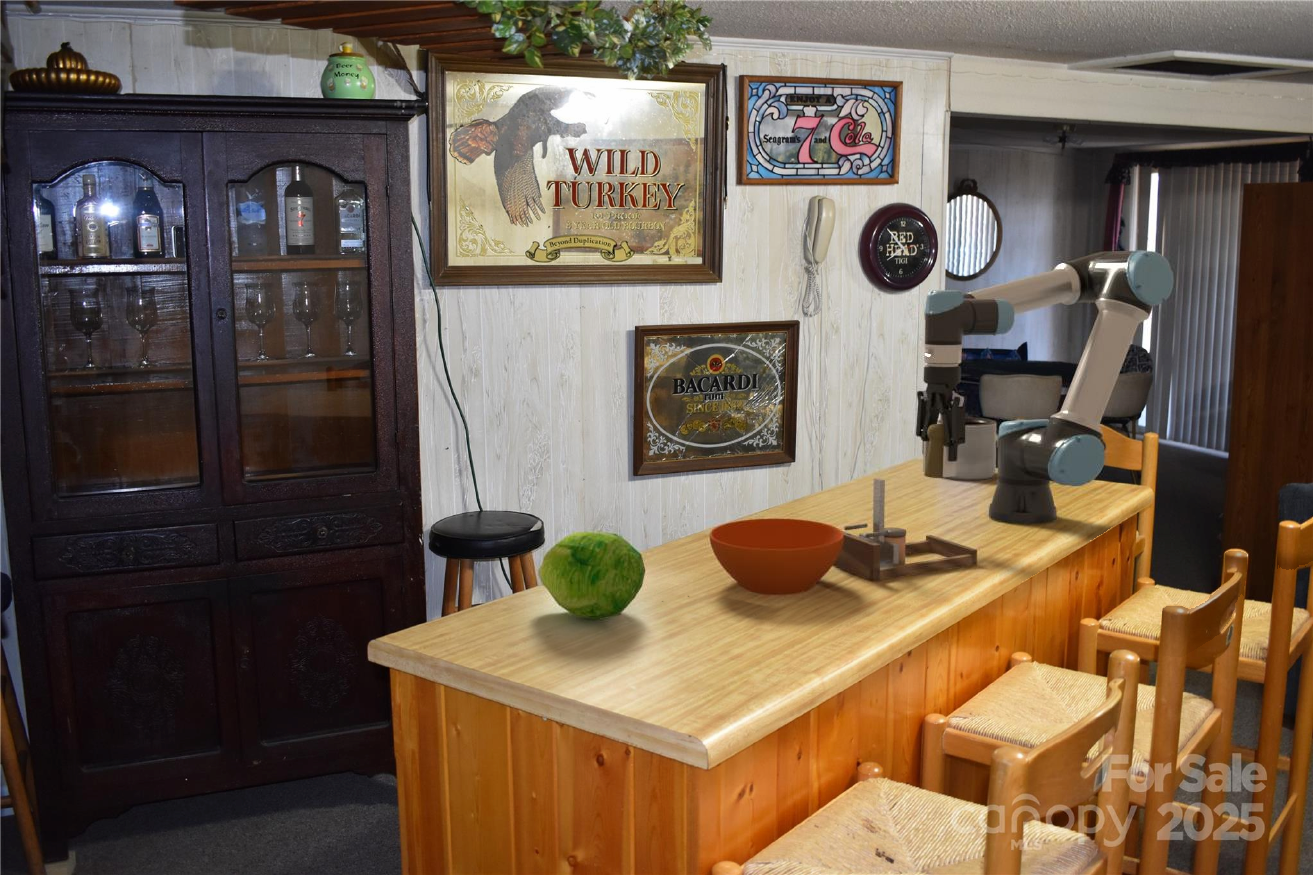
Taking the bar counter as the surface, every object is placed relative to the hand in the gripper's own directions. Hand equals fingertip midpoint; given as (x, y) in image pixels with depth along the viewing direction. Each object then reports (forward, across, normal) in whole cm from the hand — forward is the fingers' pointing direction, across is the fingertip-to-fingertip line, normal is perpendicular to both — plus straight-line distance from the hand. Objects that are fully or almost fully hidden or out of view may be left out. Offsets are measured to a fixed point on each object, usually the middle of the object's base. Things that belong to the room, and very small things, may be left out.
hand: (938, 473), depth 243 cm
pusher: (+15, +10, -22) cm, 29 cm away
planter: (+15, -58, +55) cm, 82 cm away
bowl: (+16, +11, -46) cm, 49 cm away
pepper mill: (+1, 0, 0) cm, 1 cm away
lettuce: (+17, +12, -84) cm, 86 cm away
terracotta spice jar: (+16, +10, -19) cm, 26 cm away
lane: (+15, +10, -16) cm, 25 cm away
